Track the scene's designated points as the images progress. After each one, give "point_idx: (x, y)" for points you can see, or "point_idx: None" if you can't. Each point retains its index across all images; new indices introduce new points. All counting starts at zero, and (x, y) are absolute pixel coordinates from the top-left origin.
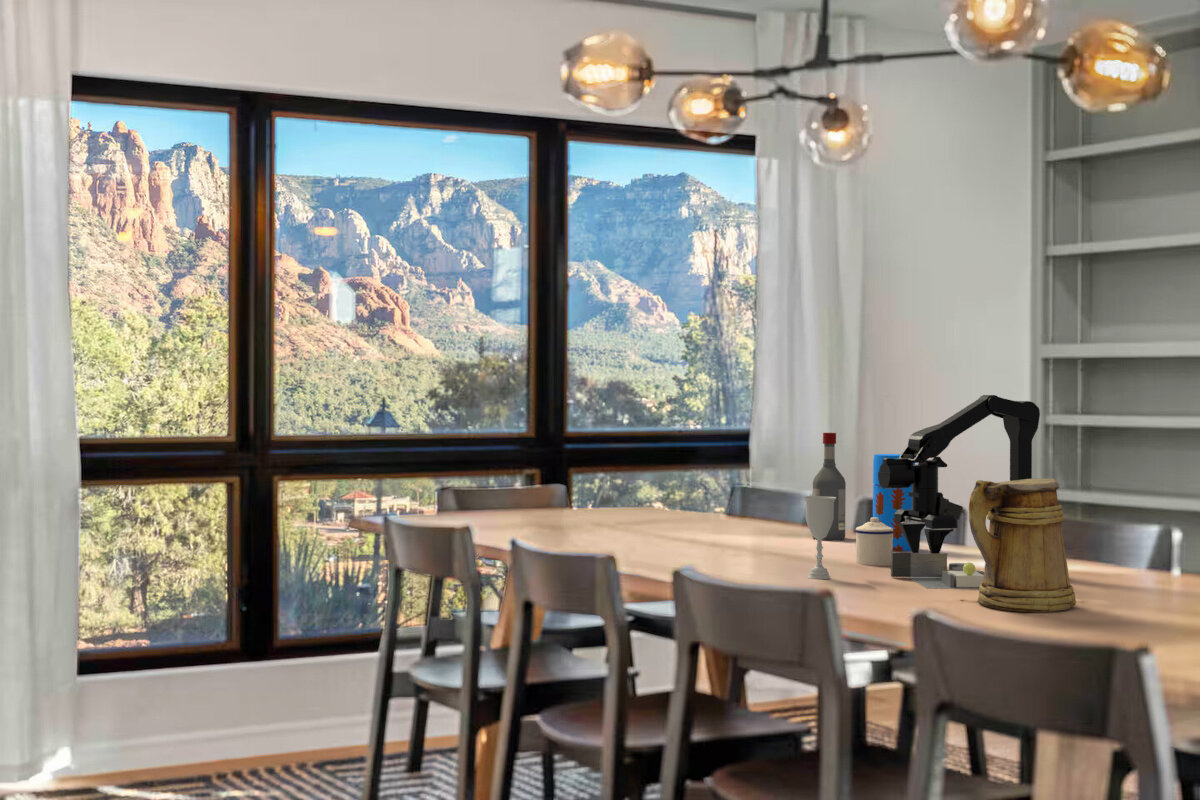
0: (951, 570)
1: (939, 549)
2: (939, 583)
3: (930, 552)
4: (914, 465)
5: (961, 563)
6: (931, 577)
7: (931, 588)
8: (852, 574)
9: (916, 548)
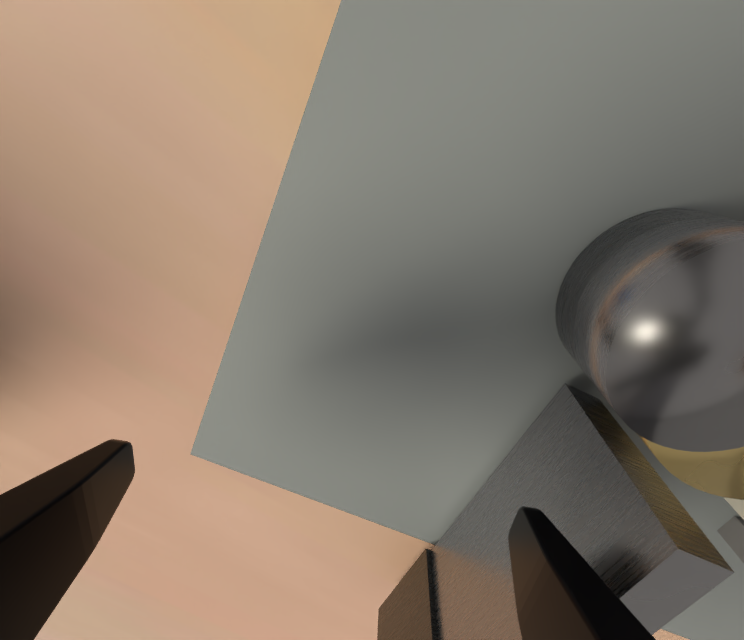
0: (720, 463)
1: (622, 622)
2: (721, 552)
3: (525, 628)
4: None
5: (699, 295)
6: (489, 441)
7: None
8: (103, 584)
9: (85, 509)
